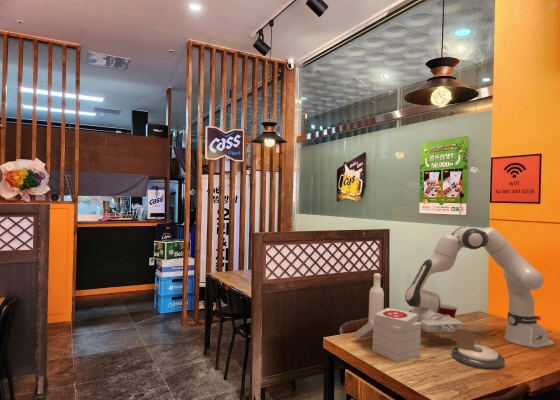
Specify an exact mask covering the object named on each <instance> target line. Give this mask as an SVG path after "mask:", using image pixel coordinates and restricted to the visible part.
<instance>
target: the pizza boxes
mask: <svg viewBox="0 0 560 400" xmlns="http://www.w3.org/2000/svg"><path fill="white" fill-rule="evenodd" d="M417 321H418V314H415V313H411V311H410V312H409V311H405V310H400V309H395V308H389V307H386V308H383V310H382V311H380V312H378V313H376V314H375V319H373V321H370V322H369V321H368V322H367V323H366V324H365V325H363V326H362V327H360V328H359V329H357V330H356V331H354V332H353V336H354V338H355V340H362V339H365V338H370V337H372V349H371V350H372V351H373V352H375V353H376V354H378V355H381V356H383V357H385V358H387V359H389V360H391V361H393V362H396V363H400V362H404V361H408V360H411V359H414V358H418V356H419V357H420V356H421V333H422V330H421V329H422V328H421V323H418V322H417Z"/></svg>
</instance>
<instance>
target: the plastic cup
mask: <svg viewBox="0 0 560 400" xmlns="http://www.w3.org/2000/svg"><path fill="white" fill-rule="evenodd" d="M458 309H459V308H458V307H457V306H453V305H450V304H440V308H439V310H438V313H439V314H446V315H450V317H452V318H455V319H456V313H457V310H458Z"/></svg>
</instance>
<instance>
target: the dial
mask: <svg viewBox="0 0 560 400" xmlns="http://www.w3.org/2000/svg"><path fill="white" fill-rule="evenodd" d="M475 333H476V332H475V329H471V328H470V329H469V328H463V327H462V328H457V330H456V347H457V348H458V352H459V353H460V354H461V355H462V356H464V357H467V358H469V359H473V360H477V361H484V362H493V361H496V360H498V354H499V353H498V352H497V351H495V350H494V349H492V348H489V347H487V346H483V345H479V344H475V336H476V335H475Z"/></svg>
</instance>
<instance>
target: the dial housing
mask: <svg viewBox="0 0 560 400" xmlns="http://www.w3.org/2000/svg"><path fill="white" fill-rule="evenodd" d="M451 357H452V358H453V359H454V360H456V361H457V362H459V363H461V364H462V365H466V366H468V367H471V368H474V369H480V370H492V371H494V370H500V369H503V368H504V367H505V361H506V360H505V358H504V357H503V356H502V355H500V354H499V353H498V360H496V361H493V362H484V361H477V360H473V359H469V358H467V357H464V356H462V355H461V354H460V353H459V352H458V348H457V346H455V347H453V348H452V349H451Z"/></svg>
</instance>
